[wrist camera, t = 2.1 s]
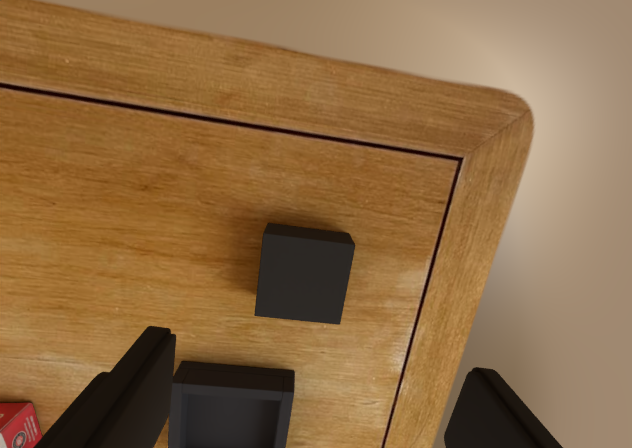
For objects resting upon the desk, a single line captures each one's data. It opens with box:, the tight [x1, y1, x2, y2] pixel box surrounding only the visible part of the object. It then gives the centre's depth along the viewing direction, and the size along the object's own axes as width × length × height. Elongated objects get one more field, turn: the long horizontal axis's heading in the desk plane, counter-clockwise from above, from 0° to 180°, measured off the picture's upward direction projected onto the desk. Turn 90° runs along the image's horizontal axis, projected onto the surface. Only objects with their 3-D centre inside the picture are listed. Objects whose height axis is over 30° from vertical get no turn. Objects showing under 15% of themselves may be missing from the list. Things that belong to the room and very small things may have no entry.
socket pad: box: [168, 361, 295, 448], centre depth 24 cm, size 9×9×2 cm
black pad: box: [255, 223, 355, 324], centre depth 21 cm, size 6×6×3 cm
